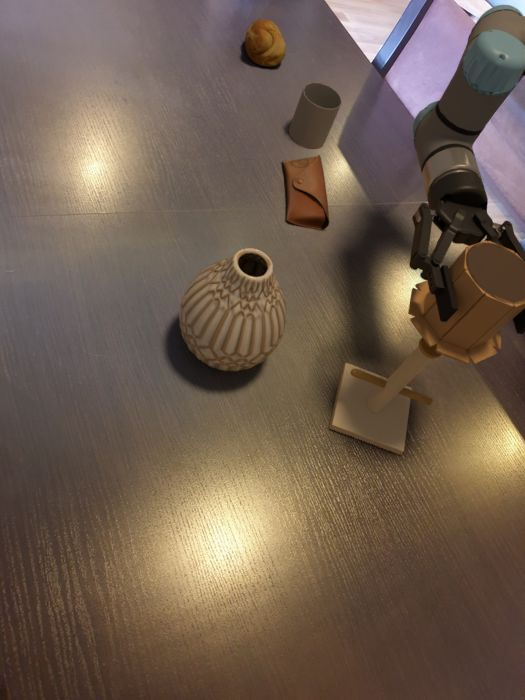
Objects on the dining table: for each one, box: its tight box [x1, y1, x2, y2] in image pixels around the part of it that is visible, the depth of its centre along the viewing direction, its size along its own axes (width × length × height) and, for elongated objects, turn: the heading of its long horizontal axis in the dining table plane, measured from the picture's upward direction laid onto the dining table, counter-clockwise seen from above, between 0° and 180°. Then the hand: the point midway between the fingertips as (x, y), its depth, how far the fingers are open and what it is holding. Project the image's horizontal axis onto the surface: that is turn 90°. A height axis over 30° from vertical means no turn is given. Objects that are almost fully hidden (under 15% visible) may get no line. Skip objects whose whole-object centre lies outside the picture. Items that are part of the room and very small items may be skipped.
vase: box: [178, 247, 287, 372], centre depth 82 cm, size 16×16×20 cm
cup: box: [288, 82, 343, 150], centre depth 120 cm, size 8×8×10 cm
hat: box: [407, 240, 525, 366], centre depth 70 cm, size 13×13×10 cm
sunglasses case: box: [281, 154, 330, 231], centre depth 113 cm, size 18×7×7 cm, turn 3°
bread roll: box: [244, 19, 287, 68], centre depth 133 cm, size 13×10×8 cm
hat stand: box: [328, 337, 443, 456], centre depth 83 cm, size 13×12×20 cm
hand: (488, 321), depth 67 cm, fingers closed on hat, 10 cm apart
